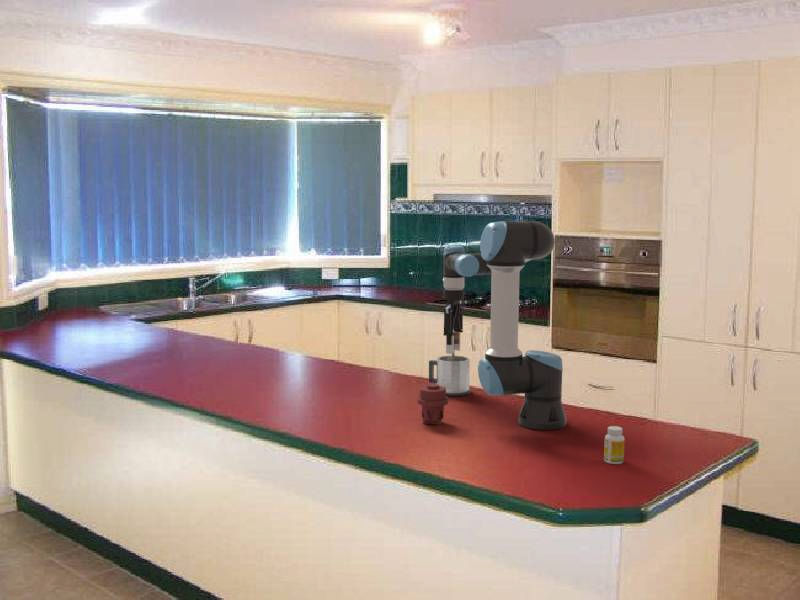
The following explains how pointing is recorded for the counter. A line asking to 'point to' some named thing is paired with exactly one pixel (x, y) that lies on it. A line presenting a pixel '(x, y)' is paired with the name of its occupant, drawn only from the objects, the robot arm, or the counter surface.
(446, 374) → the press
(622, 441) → the supplement bottle
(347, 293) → the counter surface
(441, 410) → the mechanical component
